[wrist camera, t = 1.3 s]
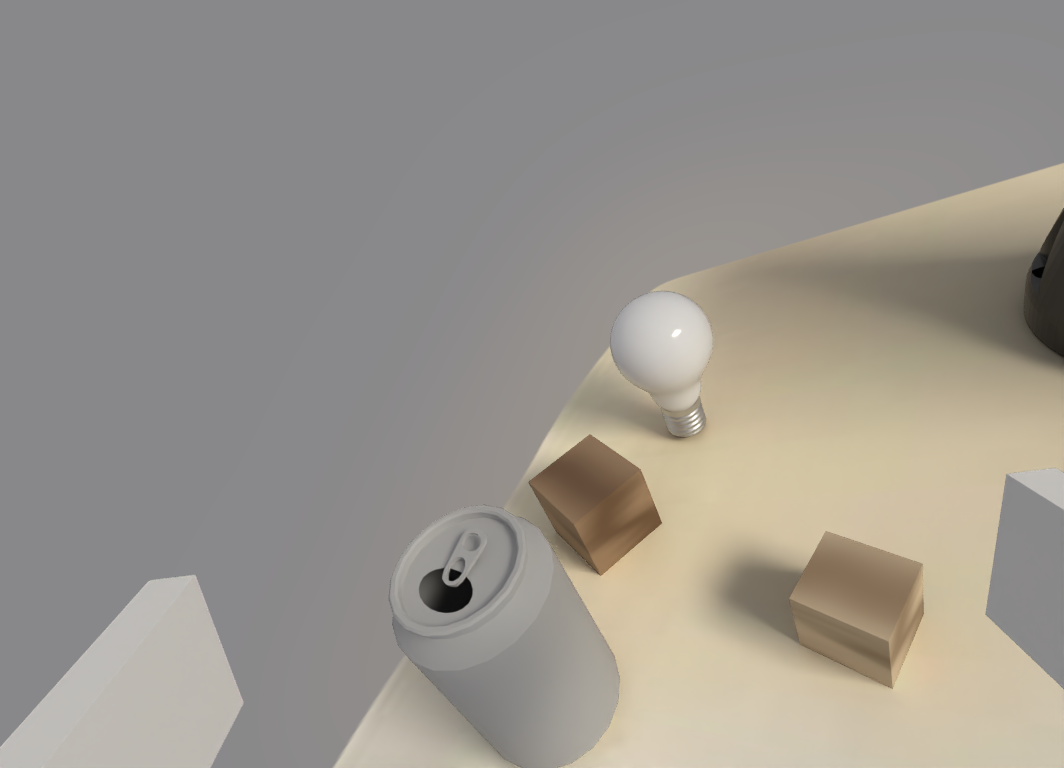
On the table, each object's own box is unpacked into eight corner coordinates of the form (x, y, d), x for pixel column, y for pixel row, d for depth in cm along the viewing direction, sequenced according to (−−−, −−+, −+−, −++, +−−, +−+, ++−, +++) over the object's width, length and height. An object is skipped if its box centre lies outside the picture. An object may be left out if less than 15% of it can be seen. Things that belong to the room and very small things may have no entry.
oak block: (833, 579, 31) (825, 531, 29) (923, 614, 28) (922, 563, 26) (800, 645, 29) (788, 598, 27) (892, 689, 26) (888, 641, 24)
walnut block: (612, 485, 42) (589, 434, 39) (662, 523, 38) (640, 469, 35) (556, 532, 40) (528, 482, 38) (601, 576, 36) (573, 524, 34)
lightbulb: (740, 397, 43) (708, 264, 37) (729, 463, 39) (691, 326, 33) (654, 401, 46) (612, 279, 40) (635, 463, 42) (584, 337, 36)
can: (462, 728, 32) (339, 602, 26) (542, 609, 36) (452, 473, 29) (572, 813, 27) (454, 684, 21) (651, 665, 31) (573, 516, 24)
